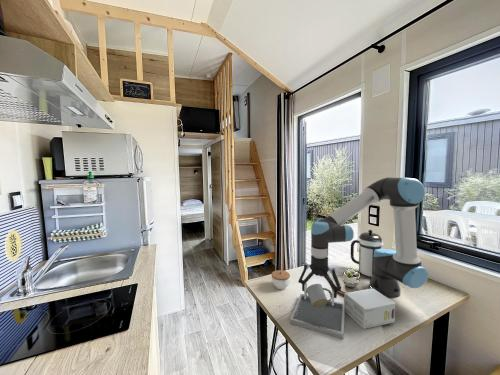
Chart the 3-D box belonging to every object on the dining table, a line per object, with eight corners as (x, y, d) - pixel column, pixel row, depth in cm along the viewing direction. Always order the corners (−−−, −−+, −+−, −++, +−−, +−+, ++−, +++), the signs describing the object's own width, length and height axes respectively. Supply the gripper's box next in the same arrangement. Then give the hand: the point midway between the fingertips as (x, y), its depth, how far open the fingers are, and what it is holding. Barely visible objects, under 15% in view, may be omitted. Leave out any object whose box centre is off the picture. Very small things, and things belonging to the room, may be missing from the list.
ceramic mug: (314, 310, 99) (311, 303, 95) (307, 293, 106) (304, 286, 101) (336, 303, 98) (334, 295, 94) (328, 286, 105) (326, 278, 100)
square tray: (345, 307, 107) (345, 303, 106) (343, 339, 87) (343, 334, 87) (300, 297, 116) (300, 293, 116) (290, 323, 96) (290, 319, 96)
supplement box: (364, 330, 92) (364, 309, 91) (343, 310, 104) (343, 292, 104) (395, 322, 96) (396, 302, 95) (372, 305, 109) (372, 287, 108)
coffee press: (377, 270, 146) (378, 226, 144) (386, 281, 131) (388, 233, 129) (350, 268, 150) (350, 225, 148) (355, 279, 135) (356, 232, 133)
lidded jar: (272, 281, 133) (272, 266, 133) (290, 283, 131) (290, 268, 130) (270, 290, 123) (270, 275, 122) (289, 292, 121) (289, 276, 120)
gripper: (348, 256, 98) (347, 302, 99) (295, 249, 108) (295, 290, 109) (347, 263, 91) (346, 312, 92) (291, 254, 101) (291, 298, 103)
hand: (318, 300), depth 101 cm, fingers closed on ceramic mug, 12 cm apart
